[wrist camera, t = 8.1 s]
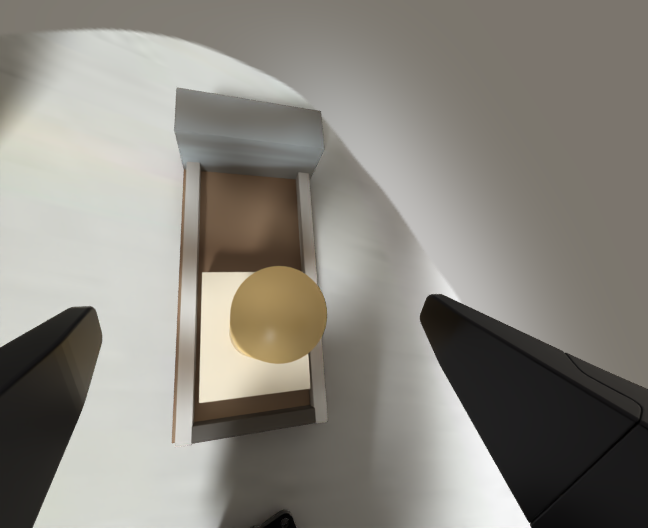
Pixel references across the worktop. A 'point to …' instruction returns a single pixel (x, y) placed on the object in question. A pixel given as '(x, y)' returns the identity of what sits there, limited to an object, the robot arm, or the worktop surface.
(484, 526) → the worktop surface
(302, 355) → the rail carriage
